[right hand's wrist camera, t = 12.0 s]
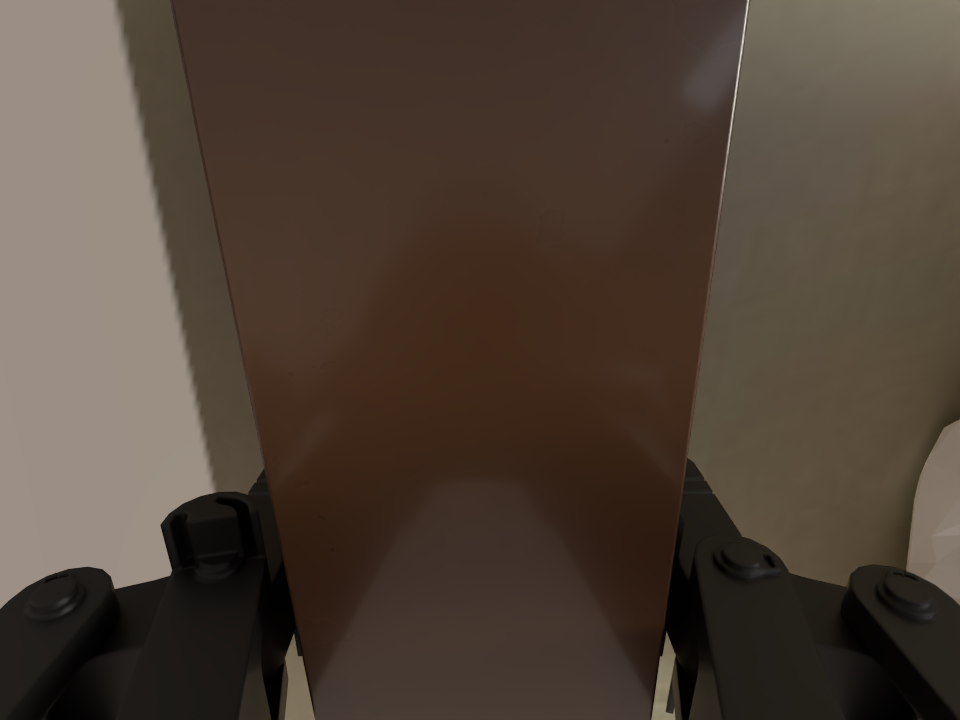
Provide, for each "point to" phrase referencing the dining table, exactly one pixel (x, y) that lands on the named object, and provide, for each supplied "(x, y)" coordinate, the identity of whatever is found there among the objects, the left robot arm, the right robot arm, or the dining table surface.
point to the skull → (938, 516)
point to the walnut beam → (470, 327)
